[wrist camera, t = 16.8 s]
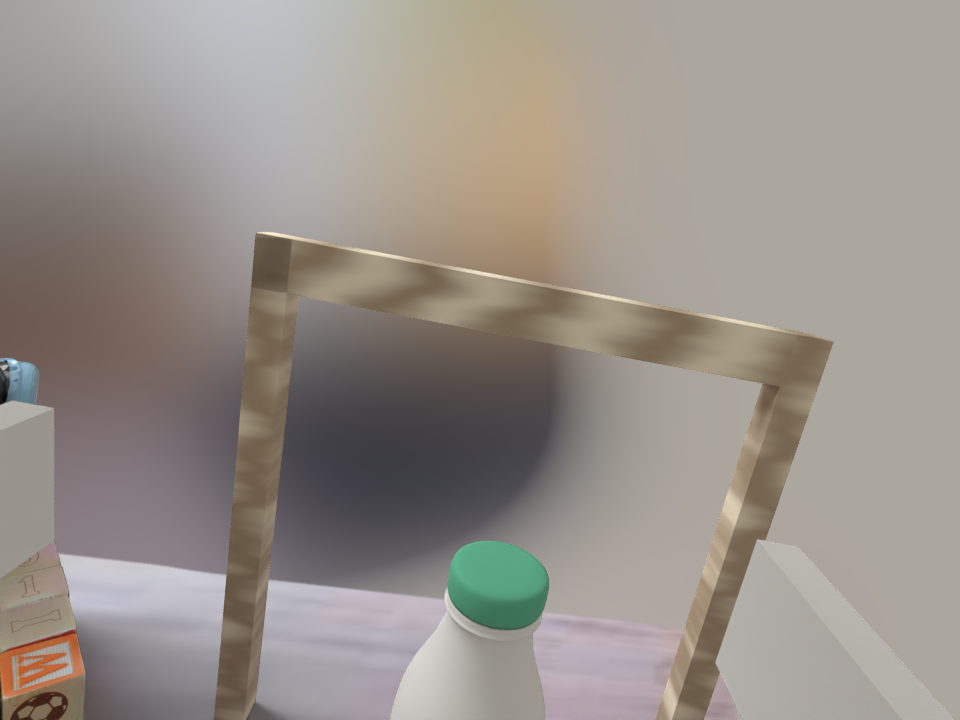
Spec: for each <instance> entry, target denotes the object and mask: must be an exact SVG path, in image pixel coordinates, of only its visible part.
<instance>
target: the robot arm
mask: <svg viewBox="0 0 960 720" xmlns="http://www.w3.org/2000/svg"><path fill="white" fill-rule="evenodd" d="M38 381H39V371H38V369H37V368H36V367H35V366H34V365H33V364H31V363H28V362H20V361H16V360H15V359H13V358H12V359H9V358H1V359H0V579H1V578H2V577H3V576H5V575H6V574H8V573H9V572H10V571H12V570H13V569H15V568H16V567H17V566H19V565H20V564H22V563H23V562H24V561H26V560H27V559H29V558H30V557H31V556H33V555H34V554H36V553H37V552H39V551H40V550H41V549H43V548H44V547H46V546H47V545H48V544H50V543H51V542H53V541H54V408H50V407H45V406H39V405H35V403H36V396H37V389H38ZM715 663H716V665H717V667H718V669H719V672H720V674H721V676H722V678H723V680H724V682H725V684H726V686H727V688H728V690H729V692H730V694H731V696H732V698H733V701H734V703H735V705H736V707H737V709H738V711H739V713H740V715H741V717H742V719H743V720H955V719H954V718H953V717H952V716H951V715H950V714H949V713H948V711H947V710H946V709H945V708H944V707H943V706H942V705H941V704H940V703H939V702H938V701H937V699H936V698H935V697H934V696H933V695H932V694H931V693H930V692H929V691H928V689H927V688H926V687H925V686H924V685H923V684H922V683H921V682H920V681H919V680H918V679H917V677H916V676H915V675H914V674H913V673H912V672H911V671H910V670H909V669H908V667H907V666H906V665H905V664H904V663H903V662H902V661H901V660H900V659H899V658H898V656H897V655H896V654H895V653H894V652H893V651H892V650H891V649H890V648H889V647H888V646H887V645H886V643H885V642H884V641H883V640H882V639H881V638H880V637H879V636H878V634H877V633H876V632H875V631H874V630H873V629H872V628H871V627H870V626H869V625H868V624H867V622H866V621H865V620H864V619H863V618H862V617H861V616H860V615H859V614H858V612H857V611H856V610H855V609H854V608H853V607H852V606H851V605H850V604H849V603H848V602H847V600H846V599H845V598H844V597H843V596H842V595H841V594H840V593H839V592H838V591H837V589H836V588H835V587H834V586H833V585H832V584H831V583H830V582H829V581H828V580H827V579H826V577H825V576H824V575H823V574H822V573H821V572H820V571H819V570H818V568H817V567H816V566H815V565H814V564H813V563H812V562H811V561H810V560H809V559H808V557H807V556H806V555H804V553H803V552H802V551H801V550H800V549H799V548H798V547H796V546H791V545H785V544H780V543H774V542H769V541H764V540H758V539H757V541H756V544H755V547H754V550H753V553H752V556H751V559H750V562H749V565H748V568H747V571H746V574H745V577H744V580H743V583H742V585H741V588H740V591H739V594H738V597H737V600H736V603H735V606H734V609H733V612H732V615H731V618H730V621H729V624H728V627H727V630H726V633H725V635H724V638H723V641H722V644H721V647H720V650H719V653H718V656H717V659H716V662H715Z"/></svg>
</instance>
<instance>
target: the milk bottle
mask: <svg viewBox="0 0 960 720" xmlns="http://www.w3.org/2000/svg"><path fill="white" fill-rule="evenodd" d="M548 589H549V578H548V574H547V571H546V569H545V568H544V566H543V565H542V564H541V563H540V562H539V561H538V560H537V559H536V558H535V557H534V556H533V555H531V554H530V553H528V552H527V551H525V550H523V549H521V548H519V547H516V546H514V545H511V544H507V543H503V542H497V541H479V542H475V543H471V544H468V545H466V546H464V547H462V548H461V549H460V550H459V551H458V552H457V553H456V555H455V556H454V558H453V560H452V563H451V567H450V571H449V576H448V583H447V590H446V592H445V605H446V608H447V611H446V613H445V615H444V617H443V619H442V621H441V623H440V624H439V626H438V628H437V629H436V630H435V632H434V633H433V634H432V635H431V637H430V638H429V639H428V640H427V641H426V642H425V644H424V645H423V646H422V647H421V648H420V650H419V651H418V652H417V654H416V655H415V656H414V658H413V660H412V661H411V663H410V664H409V666H408V668H407V670H406V672H405V674H404V676H403V678H402V680H401V683H400V685H399V688H398V691H397V694H396V697H395V700H394V704H393V708H392V713H391V717H390V720H545V707H544V697H543V691H542V686H541V681H540V677H539V674H538V670H537V666H536V662H535V657H534V650H533V633H534V632H535V631H536V630H537V628H538V627H539V625H540V623H541V620H542V612H543V610H544V607H545V603H546V600H547V595H548Z"/></svg>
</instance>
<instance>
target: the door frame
mask: <svg viewBox="0 0 960 720" xmlns="http://www.w3.org/2000/svg"><path fill="white" fill-rule="evenodd" d="M298 296H301V297H307V298H312V299H318V300H323V301H328V302H333V303H339V304H344V305H349V306H355V307H360V308H366V309H371V310H376V311H381V312H386V313H392V314H397V315H402V316H408V317H413V318H419V319H424V320H429V321H434V322H440V323H445V324H450V325H455V326H461V327H466V328H471V329H477V330H482V331H487V332H493V333H498V334H504V335H509V336H515V337H520V338H524V339H530V340H535V341H540V342H546V343H551V344H557V345H562V346H567V347H573V348H578V349H583V350H589V351H594V352H599V353H604V354H610V355H615V356H621V357H626V358H631V359H636V360H642V361H647V362H652V363H657V364H663V365H669V366H673V367H679V368H684V369H689V370H695V371H700V372H705V373H711V374H716V375H722V376H726V377H732V378H737V379H742V380H748V381H753V382H758V383H763V384H762V387H761V391H760V393H759V397H758V400H757V403H756V406H755V409H754V412H753V416H752V419H751V422H750V425H749V428H748V431H747V434H746V438H745V441H744V444H743V447H742V450H741V453H740V456H739V459H738V463H737V466H736V469H735V472H734V475H733V478H732V482H731V485H730V488H729V491H728V494H727V497H726V500H725V503H724V506H723V510H722V513H721V516H720V519H719V522H718V526H717V528H716V532H715V535H714V538H713V541H712V544H711V547H710V551H709V554H708V557H707V560H706V563H705V566H704V570H703V573H702V576H701V579H700V582H699V585H698V588H697V592H696V594H695V598H694V601H693V604H692V607H691V610H690V613H689V616H688V619H687V623H686V626H685V629H684V632H683V635H682V638H681V641H680V645H679V648H678V651H677V654H676V657H675V660H674V663H673V667H672V670H671V673H670V676H669V679H668V682H667V685H666V689H665V692H664V695H663V698H662V701H661V704H660V707H659V711H658V714H657V717H656V720H704V717H705V714H706V711H707V708H708V705H709V703H710V700H711V697H712V694H713V691H714V688H715V685H716V682H717V679H718V676H719V673H720V672H719V669H718V667H717V665H716V663H715V662H716V659H717V656H718V653H719V650H720V647H721V644H722V641H723V638H724V635H725V633H726V630H727V627H728V624H729V621H730V618H731V615H732V612H733V609H734V606H735V603H736V600H737V597H738V594H739V591H740V588H741V585H742V583H743V580H744V577H745V574H746V571H747V568H748V565H749V562H750V559H751V556H752V553H753V550H754V547H755V544H756V541H757V539H758V540H764V541H765V540H766V537H767V534H768V531H769V528H770V525H771V522H772V519H773V516H774V514H775V511H776V508H777V505H778V502H779V499H780V496H781V493H782V490H783V487H784V485H785V482H786V479H787V476H788V473H789V470H790V467H791V464H792V461H793V458H794V455H795V452H796V450H797V447H798V444H799V441H800V438H801V435H802V432H803V429H804V426H805V423H806V420H807V418H808V414H809V412H810V409H811V406H812V403H813V400H814V397H815V394H816V392H817V388H818V386H819V382H820V380H821V377H822V374H823V371H824V368H825V365H826V362H827V360H828V357H829V354H830V351H831V347H832V345H833V341H830V340H828V339H825V338H822V337H819V336H817V335H813V334H808V333H803V332H797V331H792V330H787V329H782V328H776V327H771V326H766V325H761V324H755V323H750V322H745V321H739V320H734V319H729V318H723V317H718V316H713V315H708V314H702V313H697V312H692V311H686V310H681V309H676V308H670V307H665V306H660V305H655V304H649V303H644V302H638V301H634V300H628V299H623V298H618V297H612V296H607V295H602V294H597V293H591V292H586V291H581V290H575V289H570V288H565V287H559V286H554V285H549V284H544V283H538V282H532V281H528V280H522V279H517V278H511V277H507V276H501V275H496V274H491V273H485V272H480V271H475V270H470V269H464V268H458V267H454V266H448V265H443V264H437V263H432V262H427V261H422V260H417V259H411V258H405V257H401V256H395V255H390V254H385V253H379V252H374V251H369V250H363V249H358V248H353V247H348V246H342V245H337V244H332V243H326V242H321V241H316V240H311V239H305V238H300V237H295V236H290V235H284V234H279V233H274V232H257V233H256V236H255V249H254V260H253V272H252V285H251V295H250V307H249V319H248V330H247V342H246V354H245V366H244V377H243V389H242V401H241V412H240V424H239V436H238V448H237V460H236V471H235V483H234V495H233V506H232V519H231V530H230V542H229V553H228V566H227V577H226V588H225V600H224V612H223V624H222V635H221V647H220V659H219V671H218V682H217V694H216V706H215V717H214V720H246V719H247V717H248V715H249V713H250V711H251V709H252V707H253V705H254V704H255V702H256V693H257V683H258V674H259V664H260V655H261V645H262V636H263V627H264V617H265V608H266V598H267V589H268V579H269V570H270V560H271V550H272V540H273V532H274V523H275V513H276V504H277V494H278V485H279V476H280V466H281V457H282V447H283V438H284V427H285V419H286V409H287V400H288V391H289V381H290V372H291V362H292V353H293V343H294V334H295V325H296V315H297V306H298Z"/></svg>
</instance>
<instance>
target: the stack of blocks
mask: <svg viewBox="0 0 960 720" xmlns="http://www.w3.org/2000/svg"><path fill="white" fill-rule="evenodd" d="M85 681H86V673H85V667H84V663H83V659H82V655H81V651H80V646H79V642H78V637H77V627H76V623H75V619H74V615H73V612H72V608H71V604H70V601H69V590H68V585H67V582H66V578H65V574H64V571H63V567H62V566H61V564H60V558H59V555H58V551H57V547H56V544H55V539H54V541H53V542H51V543H50V544H48V545H47V546H46V547H44V548H43V549H41V550H40V551H39V552H37V553H36V554H34V555H33V556H31V557H30V558H29V559H27V560H26V561H24V562H23V563H22V564H20V565H19V566H17V567H16V568H15V569H13V570H12V571H10V572H9V573H8V574H6V575H5V576H3V577H2V578H1V579H0V720H83V715H84V700H85Z"/></svg>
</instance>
